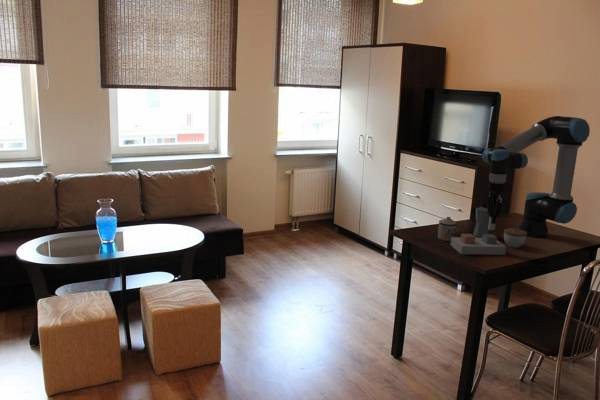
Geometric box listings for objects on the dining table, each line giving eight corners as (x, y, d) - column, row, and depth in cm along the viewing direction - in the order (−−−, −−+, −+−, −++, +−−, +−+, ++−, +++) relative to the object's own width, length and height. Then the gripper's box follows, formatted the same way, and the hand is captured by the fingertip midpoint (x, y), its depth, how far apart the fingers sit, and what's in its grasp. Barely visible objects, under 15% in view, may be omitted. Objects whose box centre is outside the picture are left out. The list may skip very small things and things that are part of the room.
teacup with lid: (445, 242, 267) (448, 220, 265) (433, 237, 275) (435, 215, 272) (463, 239, 273) (465, 218, 270) (450, 234, 281) (452, 213, 278)
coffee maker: (495, 238, 277) (500, 205, 273) (482, 239, 274) (486, 206, 270) (477, 230, 291) (481, 199, 287) (464, 231, 288) (467, 199, 284)
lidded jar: (522, 250, 259) (525, 232, 257) (500, 246, 264) (502, 228, 262) (526, 245, 268) (529, 227, 266) (504, 241, 273) (507, 223, 271)
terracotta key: (470, 242, 259) (471, 233, 258) (474, 245, 254) (475, 236, 253) (460, 242, 258) (461, 233, 257) (464, 245, 253) (465, 236, 252)
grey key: (491, 242, 260) (492, 234, 259) (496, 246, 255) (497, 237, 254) (481, 242, 259) (482, 234, 258) (486, 245, 254) (487, 237, 253)
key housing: (492, 245, 265) (493, 237, 264) (505, 254, 251) (506, 246, 251) (450, 244, 263) (451, 237, 262) (461, 254, 249) (462, 246, 248)
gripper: (483, 179, 256) (478, 225, 262) (495, 184, 243) (489, 233, 249) (498, 179, 257) (492, 225, 262) (511, 184, 244) (505, 233, 250)
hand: (491, 229), depth 256 cm, fingers closed
